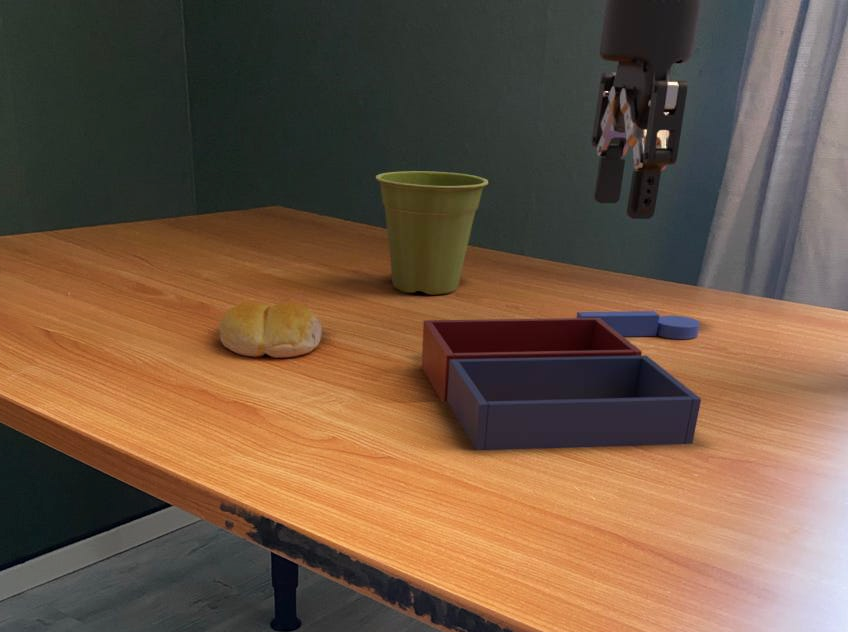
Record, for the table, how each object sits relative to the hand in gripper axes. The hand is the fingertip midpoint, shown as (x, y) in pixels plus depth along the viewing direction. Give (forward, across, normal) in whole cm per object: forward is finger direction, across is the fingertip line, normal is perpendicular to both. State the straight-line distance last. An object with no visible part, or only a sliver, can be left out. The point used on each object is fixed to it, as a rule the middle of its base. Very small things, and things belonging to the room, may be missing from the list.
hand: (622, 210), depth 89 cm
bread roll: (+12, -2, +32) cm, 34 cm away
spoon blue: (+11, 0, -3) cm, 12 cm away
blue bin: (+11, -25, +12) cm, 30 cm away
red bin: (+11, -14, +12) cm, 21 cm away
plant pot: (+12, +20, +13) cm, 27 cm away
